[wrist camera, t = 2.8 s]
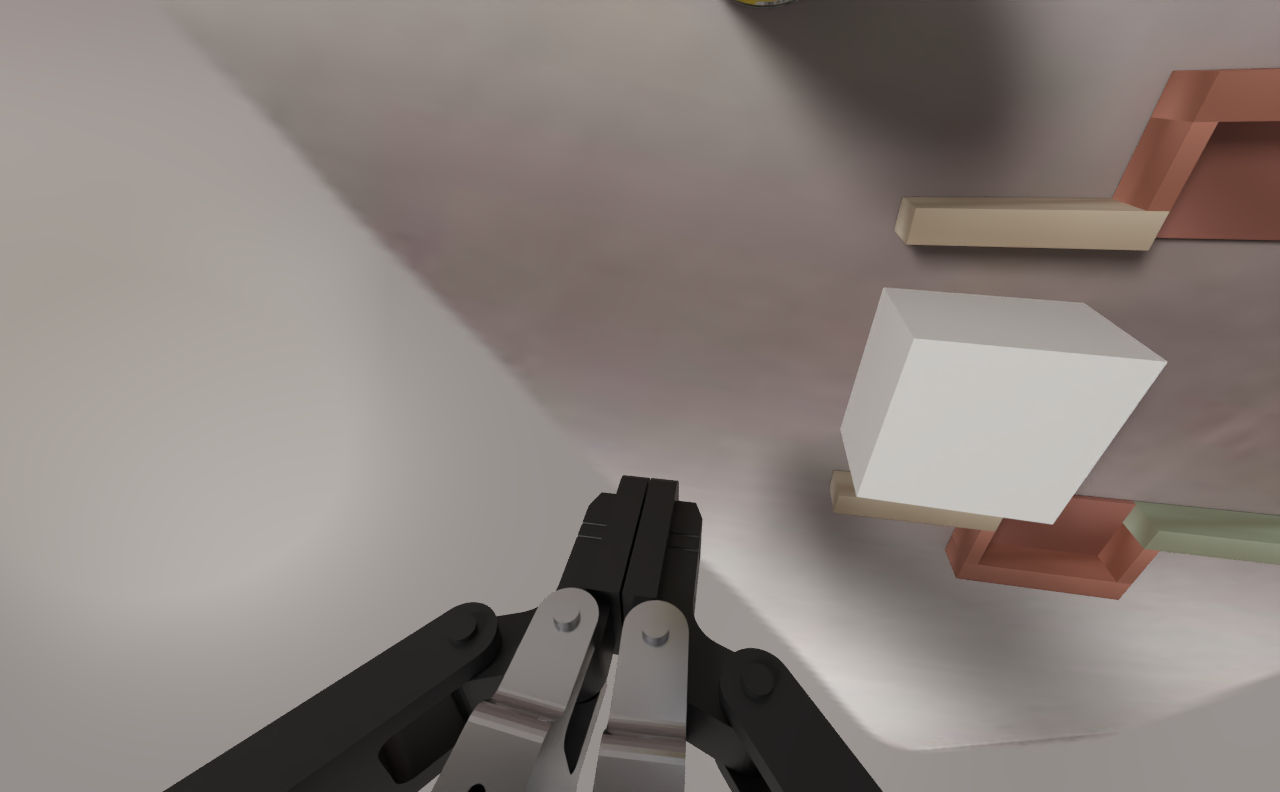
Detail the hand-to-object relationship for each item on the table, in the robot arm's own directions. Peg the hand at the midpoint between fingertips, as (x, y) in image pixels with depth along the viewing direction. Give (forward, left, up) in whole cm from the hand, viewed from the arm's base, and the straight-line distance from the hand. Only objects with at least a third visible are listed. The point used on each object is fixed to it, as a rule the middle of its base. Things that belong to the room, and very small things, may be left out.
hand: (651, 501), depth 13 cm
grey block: (0, +10, -8) cm, 12 cm away
